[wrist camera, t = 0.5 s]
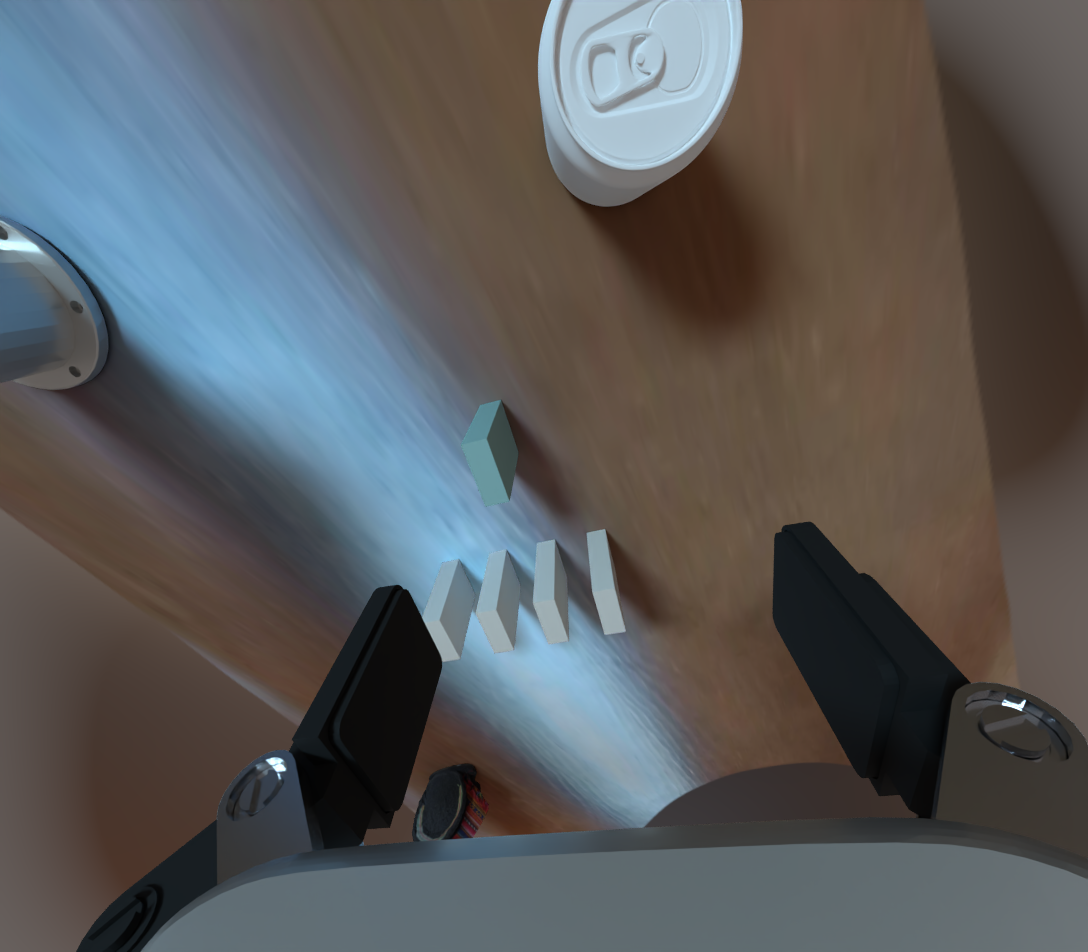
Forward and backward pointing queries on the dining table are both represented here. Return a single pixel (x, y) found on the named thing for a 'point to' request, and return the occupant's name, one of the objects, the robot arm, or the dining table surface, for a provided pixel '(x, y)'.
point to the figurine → (450, 806)
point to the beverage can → (634, 89)
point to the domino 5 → (605, 583)
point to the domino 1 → (449, 610)
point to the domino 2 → (491, 453)
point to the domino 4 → (551, 592)
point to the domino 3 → (499, 602)
